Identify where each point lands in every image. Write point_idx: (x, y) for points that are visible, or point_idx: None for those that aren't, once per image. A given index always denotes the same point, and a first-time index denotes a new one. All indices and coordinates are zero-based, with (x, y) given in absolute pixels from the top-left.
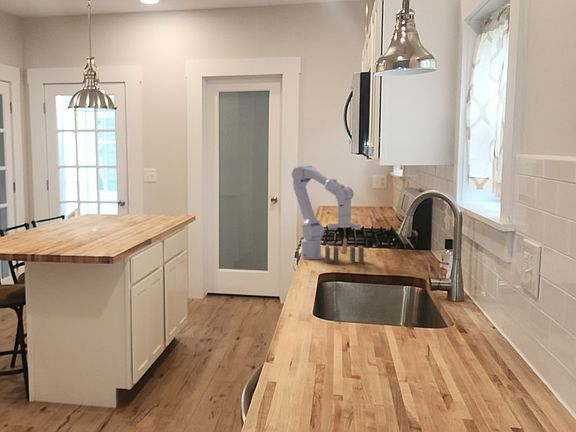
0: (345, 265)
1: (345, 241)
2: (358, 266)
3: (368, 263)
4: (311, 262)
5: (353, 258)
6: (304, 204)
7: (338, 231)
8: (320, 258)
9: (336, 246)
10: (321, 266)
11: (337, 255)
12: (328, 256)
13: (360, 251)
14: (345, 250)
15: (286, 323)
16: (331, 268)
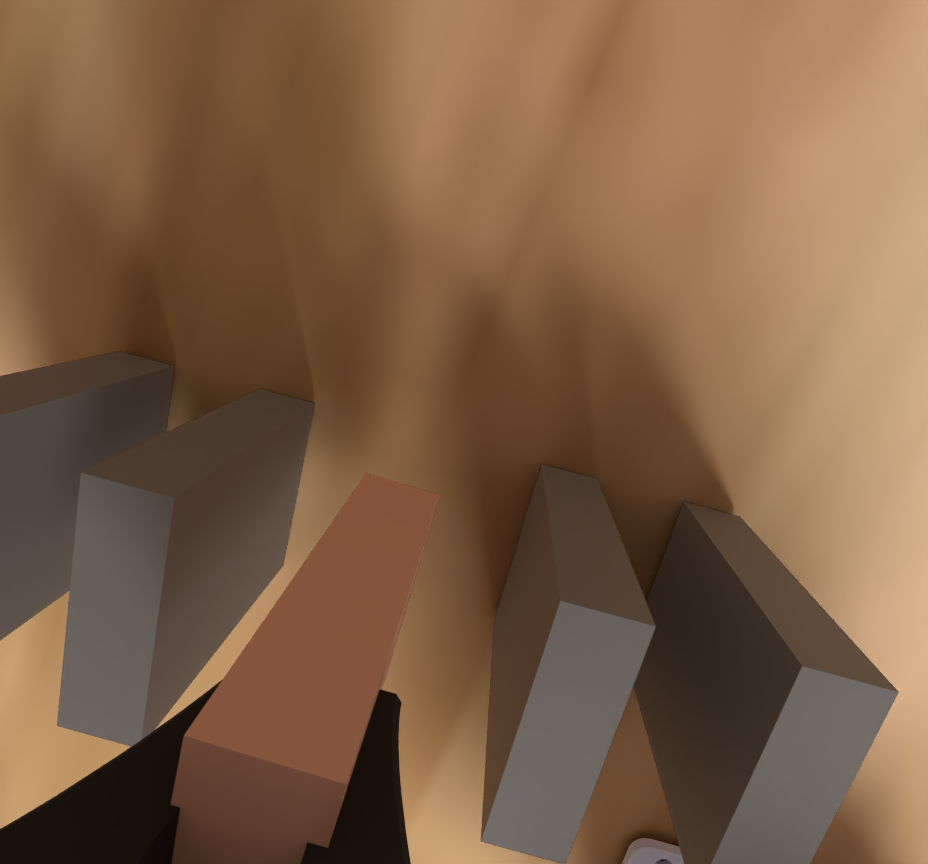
0: (473, 307)
1: (292, 664)
2: (283, 149)
3: (44, 321)
4: (909, 704)
5: (253, 416)
6: None
7: None
8: (669, 848)
9: (508, 811)
10: (914, 374)
11: (566, 522)
12: (752, 565)
13: (17, 408)
14: (374, 515)
15: None
16: (828, 151)
